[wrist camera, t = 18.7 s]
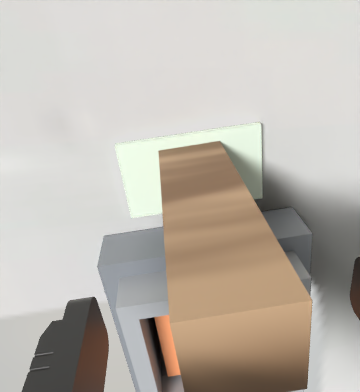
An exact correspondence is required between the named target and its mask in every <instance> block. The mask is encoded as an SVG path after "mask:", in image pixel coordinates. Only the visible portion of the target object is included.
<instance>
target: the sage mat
mask: <svg viewBox="0 0 360 392" xmlns="http://www.w3.org/2000/svg"><path fill="white" fill-rule="evenodd" d="M215 141H220V142H221V144H222V146H223V147H224V149H225V151H226V153H227V154H228V156H229V158H230V159H231V161H232V163H233V165H234V166H235V168H236V170H237V172H238V173H239V175H240V177H241V178H242V180H243V182H244V184H245V185H246V187H247V189H248V190H249V192H250V194H251V196H252V197H253V199H261V198H263V190H262V137H261V123H260V122H255V123H249V124H242V125H236V126H229V127H222V128H216V129H209V130H202V131H196V132H189V133H182V134H176V135H169V136H163V137H156V138H149V139H143V140H136V141H129V142H123V143H116V144H115V150H116V154H117V158H118V163H119V167H120V171H121V176H122V180H123V184H124V189H125V193H126V197H127V202H128V206H129V210H130V215H131V218H137V217H143V216H150V215H156V214H162V198H161V183H160V168H159V152H158V151H159V150H165V149H171V148H178V147H184V146H190V145H197V144H203V143H209V142H215Z"/></svg>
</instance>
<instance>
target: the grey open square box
mask: <svg viewBox="0 0 360 392" xmlns="http://www.w3.org/2000/svg"><path fill="white" fill-rule="evenodd" d="M261 213H262V215H263V216H264V218H265V220H266V221H267V223H268V225H269V227H270V228H271V230H272V232H273V234H274V235H275V237H276V239H277V240H278V242H279V244H280V246H281V247H282V249H283V251H284V252H285V254H286V256H287V258H288V259H289V261H290V263H291V264H292V266H293V268H294V270H295V271H296V273H297V275H298V277H299V278H300V280H301V282H302V283H303V285H304V287H305V289H306V290H307V292H308V294H309V295H310V291H311V277H310V266H311V250H312V234H313V233H312V232H311V231H310V230H309V228H308V227H307V226H306V224H305V223H304V222H303V220H302V219H301V218H300V216H299V215H298V214H297V213H296V211H295V210H294V209H293V207H290V208H284V209H277V210H271V211H264V212H261ZM97 267H98V271H99V274H100V277H101V280H102V283H103V287H104V290H105V293H106V296H107V300H108V303H109V306H110V309H111V312H112V316H113V319H114V322H115V325H116V329H117V332H118V335H119V338H120V341H121V345H122V348H123V351H124V354H125V358H126V361H127V364H128V367H129V371H130V374H131V377H132V380H133V383H134V387H135V390H136V392H184V388H183V383H182V378H181V375H175V376H169V377H168V375H167V370H166V366H165V362H164V357H163V353H162V349H161V344H160V340H159V336H158V331H157V327H156V323H155V319H154V317H158V316H165V315H169V305H168V290H167V275H166V259H165V244H164V229H163V227H160V228H153V229H147V230H140V231H134V232H127V233H121V234H114V235H108V236H104V238H103V242H102V247H101V252H100V256H99V261H98V266H97ZM291 392H304V389H303V390H297V391H291Z"/></svg>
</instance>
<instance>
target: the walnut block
mask: <svg viewBox="0 0 360 392" xmlns="http://www.w3.org/2000/svg"><path fill="white" fill-rule="evenodd" d="M158 152H159V168H160V183H161V198H162V214H163V229H164V244H165V259H166V275H167V290H168V305H169V321H170V327H171V332H172V337H173V341H174V346H175V350H176V355H177V360H178V364H179V369H180V374H181V378H182V383H183V388H184V392H291V391H297V390H303V389H307V382H308V364H309V347H310V331H311V314H312V299H311V297H310V295H309V294H308V292H307V290H306V289H305V287H304V285H303V283H302V282H301V280H300V278H299V277H298V275H297V273H296V271H295V270H294V268H293V266H292V264H291V263H290V261H289V259H288V258H287V256H286V254H285V252H284V251H283V249H282V247H281V246H280V244H279V242H278V240H277V239H276V237H275V235H274V234H273V232H272V230H271V228H270V227H269V225H268V223H267V221H266V220H265V218H264V216H263V215H262V213H261V211H260V209H259V208H258V206H257V204H256V203H255V201H254V199H253V197H252V196H251V194H250V192H249V190H248V189H247V187H246V185H245V184H244V182H243V180H242V178H241V177H240V175H239V173H238V172H237V170H236V168H235V166H234V165H233V163H232V161H231V159H230V158H229V156H228V154H227V153H226V151H225V149H224V147H223V146H222V144H221V142H220V141H215V142H209V143H203V144H197V145H190V146H184V147H178V148H171V149H165V150H159V151H158Z"/></svg>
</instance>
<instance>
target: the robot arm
mask: <svg viewBox="0 0 360 392" xmlns="http://www.w3.org/2000/svg"><path fill="white" fill-rule="evenodd" d="M350 300H351V305H352V308H353V310H354V312H355V314H356V315H357V317H358V318H359V320H360V257H358V258H356V260H355V264H354V270H353V277H352V284H351V290H350ZM108 349H109V344H108V334H107V330H106V327H105V324H104V321H103V318H102V315H101V312H100V309H99V306H98V303H97V300H96V298H95V297H89V298H82V299H76V300H70V301H69V302H68V303H67V306H66V309H65V313H64V317H63V320H58V321H52V322H51V324H50V325H49V326H48V328H47V329H46V330H45V332H44V333H43V334H42V335H41V337H40V339H39V343H38V345H37V348H36V351H35V357H34V358H33V360H32V363H31V366H30V372H29V373H28V375H27V378H26V381H25V384H24V386H23V390H22V392H104V384H105V376H106V368H107V359H108V351H109V350H108Z"/></svg>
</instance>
